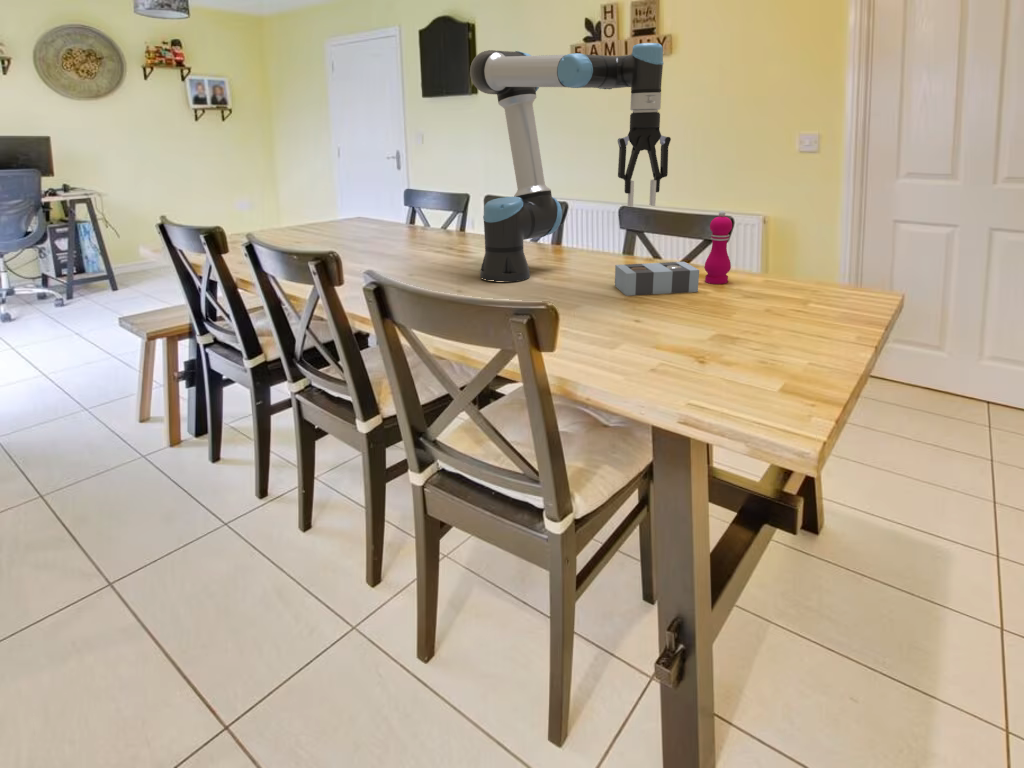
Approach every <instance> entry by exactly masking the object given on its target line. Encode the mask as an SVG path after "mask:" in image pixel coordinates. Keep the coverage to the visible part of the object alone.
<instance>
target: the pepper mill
mask: <svg viewBox="0 0 1024 768" xmlns="http://www.w3.org/2000/svg"><path fill="white" fill-rule="evenodd" d="M732 229H733V222H732V220H731V219H730V218H729V217H728V216H726V211H725V210H720V211H718V216H717V217H714V218H713V219H712V220H711V222H710V223H709V230H710V231H711V233H712V234H710V240H711V249H710V252H709V255H708V256H707V258H706V260H705V263H704V270H705V271H706V273H707V274H706V275H705V278H704V281H705V283H707V284H712V285H722V284H727V283H728V281H729V276H728V275H727V274H728V273H729V272H730V270H731V267H732V265H731V264H732V263H731V259H730V256H729V254H728V250H727V249H728V247H727V246H728V241H729V240H730V234H729V233H730V232H731V231H732Z"/></svg>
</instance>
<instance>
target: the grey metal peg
mask: <svg viewBox="0 0 1024 768" xmlns="http://www.w3.org/2000/svg"><path fill="white" fill-rule="evenodd" d="M667 268H668V269H672V268H681V266H677V265H670V266H667Z"/></svg>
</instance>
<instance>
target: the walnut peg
mask: <svg viewBox="0 0 1024 768" xmlns="http://www.w3.org/2000/svg"><path fill="white" fill-rule="evenodd" d="M631 270H646V268H644V267H633V268H631Z"/></svg>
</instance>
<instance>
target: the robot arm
mask: <svg viewBox="0 0 1024 768" xmlns="http://www.w3.org/2000/svg"><path fill="white" fill-rule="evenodd" d="M663 49H664V48H663V46H662V44H660V43H658V42H657V43H656V42H643V43H637V44H635V45H633V46H632V51H631V54H628V55H598V54H586V53H585V54H584V53H580V52H578V53H577V52H575V53H573V52H572V53H569V54H568V53H567V54H549V55H548V54H545V55H544V54H543V55H542V54H541V55H540V54H539V55H531V54H530V53H527V52H523V51H519V50H517V51H516V50H515V51H508V50H493V49H491V50H490V49H489V50H483V51H482V52H479V53H478V54H477V55H475V57H474V58H473V60H472V62H471V65H470V68H469V69H470V70H469V76H470V79H471V82H472V84H473V86H474V87H475V88H476V90H478V91H480V92H481V93H484V94H487V95H496V96H497V102H498V105H499V106H500V107H501V108H503V109H504V115H505V119H506V121H505V122H506V127H507V132H508V139H509V145H510V146H509V147H510V150H511V151H510V152H511V156H512V162H513V163H512V164H513V168H514V175H515V181H516V188H517V190H516V192H515V193H514V195H513V196H504V197H498V198H494V199H490V200H488V201H487V202H486V203H485V204H484V205H483V215H482V216H483V217H482V218H483V219H482V220H483V229H484V230H483V232H484V250H485V251H484V256H483V260H482V263H481V268H480V270H479V272H480V273H479V274H480V279H481V278H483V279H486V280H494V281H516V282H518V281H517V280H522V281H524V280H523V279H525V280H528V279H529V278H530V277H531V274H530V272H531V271H530V267H529V264H528V261H527V258H526V254H525V253H524V241H525V240H529V239H535V238H542V237H543V238H544V237H547V236H549V235H552V234H554V233H555V232H556V231H557V230H558V228H559V226H560V225H561V223H562V219H563V210H562V206H561V203H560V202H559V201H558V199H557V198H555V197H553V195H552V189H551V188H549V187H548V186H547V185H546V183H545V177H544V169H543V162H542V157H541V156H542V155H541V150H540V144H539V138H538V131H537V125H536V123H537V122H536V117H535V111H534V101H535V100H536V99H537V92H538V90H539V88H568V89H569V88H571V89H591V88H593V89H599V90H601V89H602V90H612V89H622V88H630V90H631V91H630V108H629V109H630V111H632V112H631V113H630V114H629V115H630V116H629V132H628V134H627V136H624V137H619V138H618V139H617V144H618V148H619V150H618V164H617V165H618V168H617V177H618V178H619V179H621V180H624V193H625V194H627V206H628V207H629V208H630V207H631V208H633V207H634V196H635V195H634V193H635V189H634V188H635V180H632V178H633V174H634V171H635V167H636V165H637V164H636V163H637V161H638V157H639V155H640V152H643V151H647V153H648V158H649V162H650V167H651V171H652V176H653V179H650V186H649V206H650V207H651V206H652V207H656V196H657V193H660V187H661V180H662V179H663V178H666V177H668V175H669V174H668V173H669V172H668V171H669V168H668V167H669V165H668V164H669V146H670V143H671V140H672V138H671V137H670V136H666V135H662V132H661V131H660V127H661V126H660V125H661V113H660V111H659V110H661V105H662V104H661V103H662V79H663V70H664V69H663V68H664V60H663V59H664V50H663ZM629 143H630V145H632V148H631V153H630V157H629V161H628V164H627V162H626V161H627V160H626V159H627V146H628V144H629ZM657 143H659V144H660V163H659V162H658V158H657V150H656V145H657ZM626 164H627V167H626ZM659 164H660V165H659ZM659 166H660V167H659ZM527 278H528V279H527Z"/></svg>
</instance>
